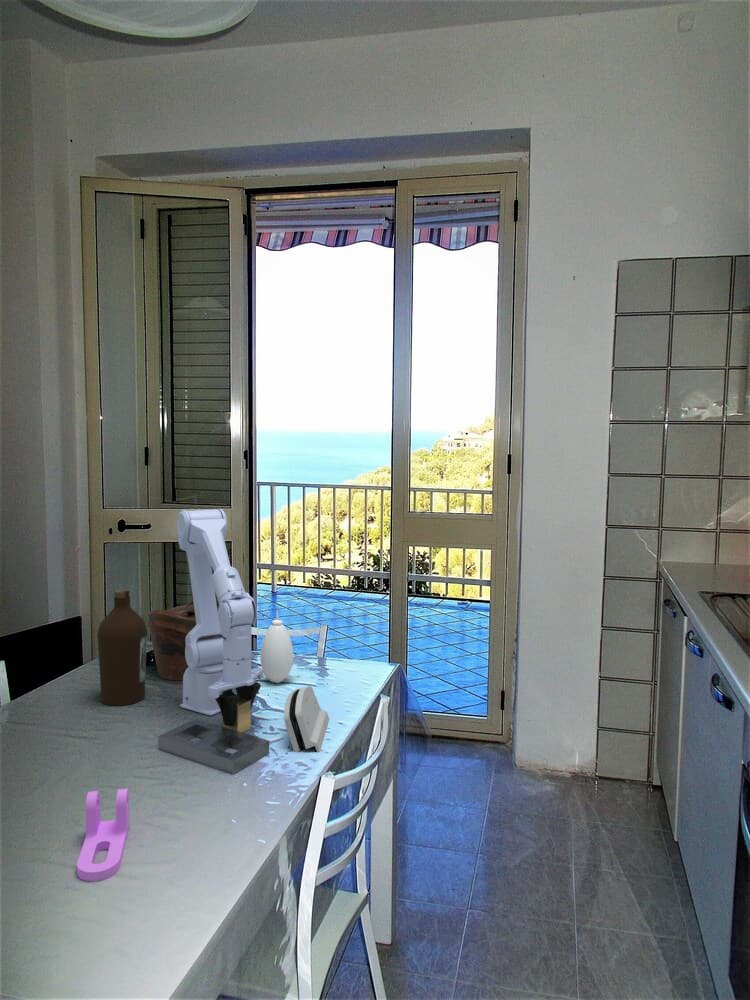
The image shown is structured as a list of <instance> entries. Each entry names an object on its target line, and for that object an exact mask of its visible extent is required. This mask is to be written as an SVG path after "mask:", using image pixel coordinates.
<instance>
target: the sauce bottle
mask: <svg viewBox="0 0 750 1000" xmlns="http://www.w3.org/2000/svg"><path fill="white" fill-rule="evenodd" d="M275 616H276V617H275V619H274V620H271V625H270V626H269V628H268V629H267V631H266V632H265V634H264V636H263V639H262V643H261V647H260V666H261V667H260V668H261V669H263V676H265V678H266V679H268V680H269V682H272V683H274V684H279V683H281V682H283V681H284V680H285V679H286V678H287V677H289V674H290V673H291V671H292V668H293V665H294V648H293V643H292V639H291V637H290V634H289V631H288V630H287V628H286V626H284V623H283V620H280V619H279V611H278V610H276V615H275Z"/></svg>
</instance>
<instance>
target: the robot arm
mask: <svg viewBox="0 0 750 1000" xmlns="http://www.w3.org/2000/svg"><path fill="white" fill-rule="evenodd" d="M176 520H177V521H176V533H177V541H178V545H179V549H180V550H182V551H185V552H186V557H187V563H188V569H189V578H190V586H191V590H192V591H191V593H192V599H193V601H192V602H194V609H195V617H196V626H195V627H194V628H193V629H192V630H191V631H190V632H189V633H188V634H187V636H186V639H185V642H186V648H185V657H186V662H187V665H188V666H189V667H188V668H187V669H186V671H185V673H184V676H183V680H182V703H181V704H180V705H179V707H180V708H183V709H186V710H190V711H194V712H198V713H199V714H203V715H207V716H214V715H216V714H218V713H220V712H221V716H222V721H223V720H224V724H225V725H227V726H231V727H232V726H234V724H235V716H236V707H237V703H238V700H239V697H241V698H245V699H248V700H251V709H252V708H253V704H254V702H255V699H256V696H257V694H258V692H259V691H260V689H261V683H259V682H256V680H258V679H259V680H261V679H264V673H263V669H262V667H254V668H252V630H253V629H252V625H254V624H255V623H256V621H257V617H258V610H257V605H256V604H257V603H256V602H255V600H254V597H252V596H251V595H250V593H249V592H246V590H245V588H244V585H243V581H242V580H241V576H240V574H239V571H238V569H236V568H235V567H233V566H231V563H230V558H229V554H228V550H227V546H226V541H225V538H226V534H227V529H228V518H227V514H226V512H225V511H224V510H223V509H222V508H216V509H198V510H197V509H196V510H186V509H182V510H180V512H179V513H178V515H177V519H176ZM217 601H218V604H219V606H217ZM217 607H218V612H217ZM218 618H219V619H218ZM210 636H217V637H215V638H209V639H202V640H197V639H198V638H203V637H210ZM234 689H235V693H234V691H233V690H234Z"/></svg>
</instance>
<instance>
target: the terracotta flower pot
mask: <svg viewBox="0 0 750 1000" xmlns="http://www.w3.org/2000/svg"><path fill="white" fill-rule="evenodd" d="M218 609H219V606H217V612H218ZM147 616H148V617H147V618H148V621H147V623H148V624H147V628H149V629H148V632H149V635H150V639H151V643H152V649H153V652H154V657H155V663H156V669H157V673H158V675H159V676H160V678H162V679H165V680H171V681H183V676H184V673H185V671H186V669H187V668H188V667H189V666H188V665H187V662H186V657H185V648H186V642H185V639H186V636H187V634H188V633H189V632H190V631H191V630H192V629H193V628H194V627H195V626H196V617H195V609H194V602H193V601H191V602H190V603H186V604H184V605H179V606H175V607H172V608H169V609H164V610H161V609H159V610H157V609H156V610H150V611H149V612H148V615H147ZM218 619H219V618H218ZM215 637H218V636H210V637H203V638H198V639H197V640H202V639H209V638H215Z"/></svg>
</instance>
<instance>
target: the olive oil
mask: <svg viewBox="0 0 750 1000" xmlns="http://www.w3.org/2000/svg"><path fill="white" fill-rule="evenodd" d="M113 598H114V599H113V601H114V602H113V603H114V606H113V608H112V610H111V611H110V612H109V613H108V614H107V615H106V616H105V617H104V618H103V619H102V621H101V622H100V624H99V626H98V628H97V629H98V630H97V633H96V634H97V635H96V637H97V649H98V662H99V663H98V665H99V678H100V679H99V681H100V700H101V703H103V704H104V705H106V706H107V705H108V706H112V707H113V706H115V707H119V706H128V705H132V704H136V703H138V702H140V701H142V700H143V699H144V698H145V695H146V667H147V645H148V643H147V642H148V629H147V628H148V626H147V624H146V622H145V620H144V619H143V617H142V616H141V615H140V614H138V613H137V611H135V610H134V609H133V607H131V596H130V590H129V589H127V588H121V589H120V588H119V589H116V590H115V591H114V596H113Z"/></svg>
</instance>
